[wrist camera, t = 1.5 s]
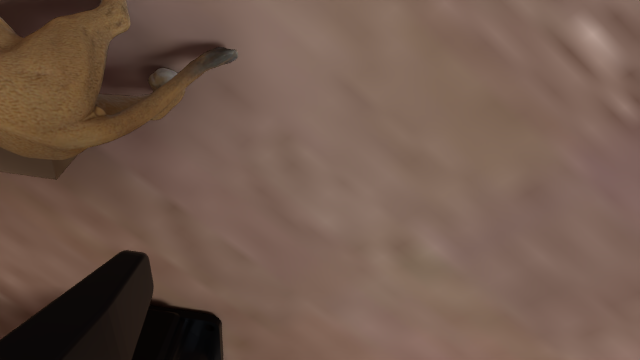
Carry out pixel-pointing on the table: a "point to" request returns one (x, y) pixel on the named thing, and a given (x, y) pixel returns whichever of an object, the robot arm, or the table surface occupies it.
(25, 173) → the channel
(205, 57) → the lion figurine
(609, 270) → the table surface
